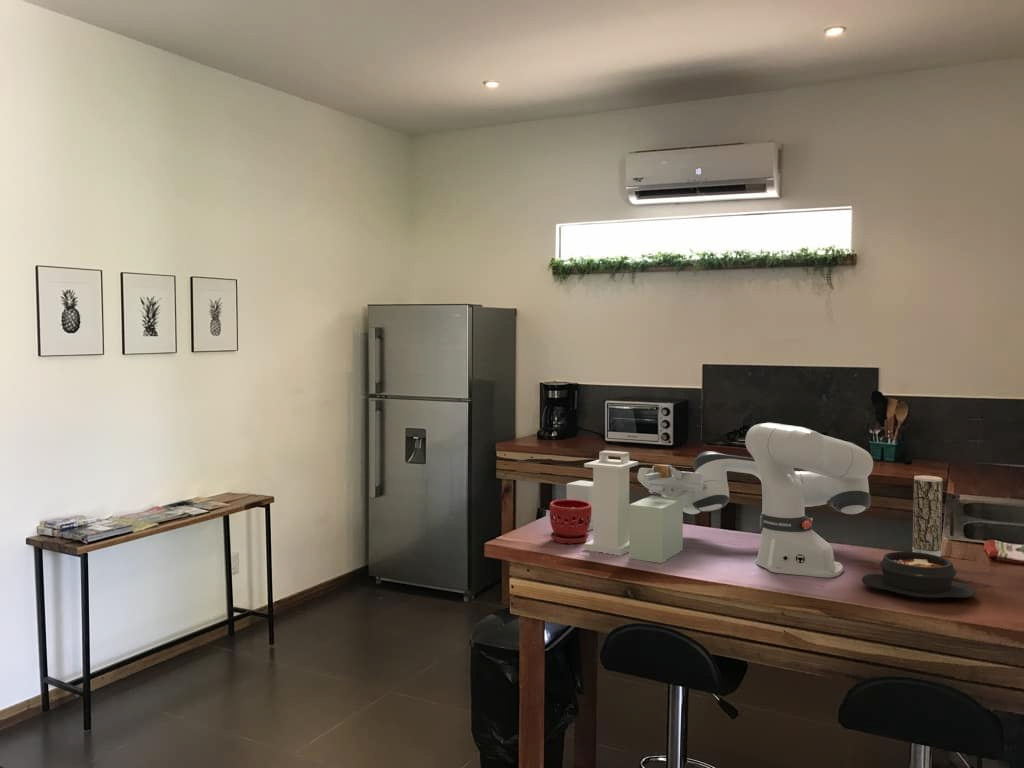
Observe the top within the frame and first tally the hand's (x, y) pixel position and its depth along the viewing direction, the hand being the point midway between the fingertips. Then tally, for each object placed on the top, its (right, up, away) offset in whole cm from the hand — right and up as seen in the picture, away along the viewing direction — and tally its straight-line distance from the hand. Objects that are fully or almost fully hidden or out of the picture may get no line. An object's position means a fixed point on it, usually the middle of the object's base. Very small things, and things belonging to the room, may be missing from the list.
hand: (662, 469), depth 236 cm
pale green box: (-3, -24, -4) cm, 25 cm away
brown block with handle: (-3, -2, -4) cm, 5 cm away
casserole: (+55, -26, -41) cm, 73 cm away
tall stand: (-15, -24, +2) cm, 28 cm away
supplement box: (-20, -23, +31) cm, 44 cm away
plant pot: (-26, -24, +12) cm, 38 cm away
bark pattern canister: (+68, -25, -21) cm, 75 cm away
